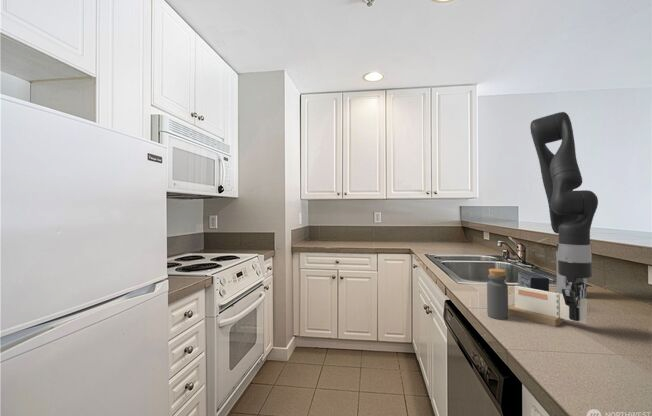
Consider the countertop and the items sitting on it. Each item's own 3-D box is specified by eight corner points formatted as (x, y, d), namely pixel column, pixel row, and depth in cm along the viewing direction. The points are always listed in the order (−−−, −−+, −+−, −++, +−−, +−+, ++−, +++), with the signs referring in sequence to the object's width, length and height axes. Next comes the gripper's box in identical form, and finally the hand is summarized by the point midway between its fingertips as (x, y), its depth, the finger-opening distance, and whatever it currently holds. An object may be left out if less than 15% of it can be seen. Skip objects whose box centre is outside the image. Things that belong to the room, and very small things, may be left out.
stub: (559, 318, 89) (559, 294, 89) (561, 317, 89) (560, 293, 89) (585, 324, 84) (585, 299, 84) (587, 323, 85) (586, 298, 85)
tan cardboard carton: (504, 313, 99) (503, 286, 99) (513, 309, 103) (513, 283, 103) (555, 326, 87) (554, 295, 87) (563, 321, 91) (563, 291, 91)
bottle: (508, 321, 92) (507, 272, 92) (486, 317, 95) (486, 270, 95) (508, 315, 97) (507, 269, 97) (488, 312, 100) (487, 267, 100)
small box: (551, 308, 104) (550, 277, 104) (530, 306, 105) (529, 277, 105) (536, 299, 114) (535, 271, 114) (517, 298, 116) (516, 271, 116)
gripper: (566, 255, 93) (567, 311, 93) (549, 260, 86) (550, 320, 85) (598, 258, 87) (599, 318, 87) (583, 263, 79) (584, 329, 79)
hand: (575, 319), depth 86 cm, fingers closed
